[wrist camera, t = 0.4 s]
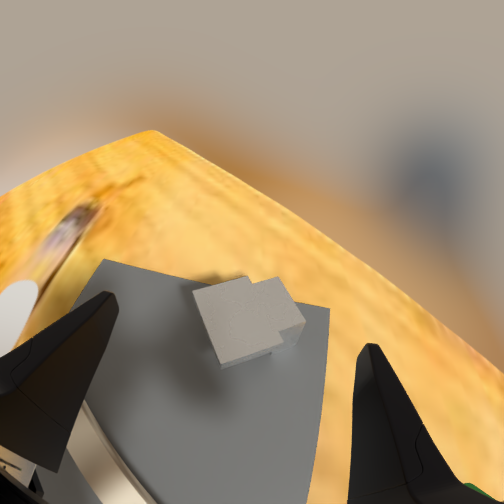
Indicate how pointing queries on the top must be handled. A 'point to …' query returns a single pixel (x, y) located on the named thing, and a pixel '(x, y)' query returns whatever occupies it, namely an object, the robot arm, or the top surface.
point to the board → (197, 402)
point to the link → (103, 463)
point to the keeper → (248, 319)
